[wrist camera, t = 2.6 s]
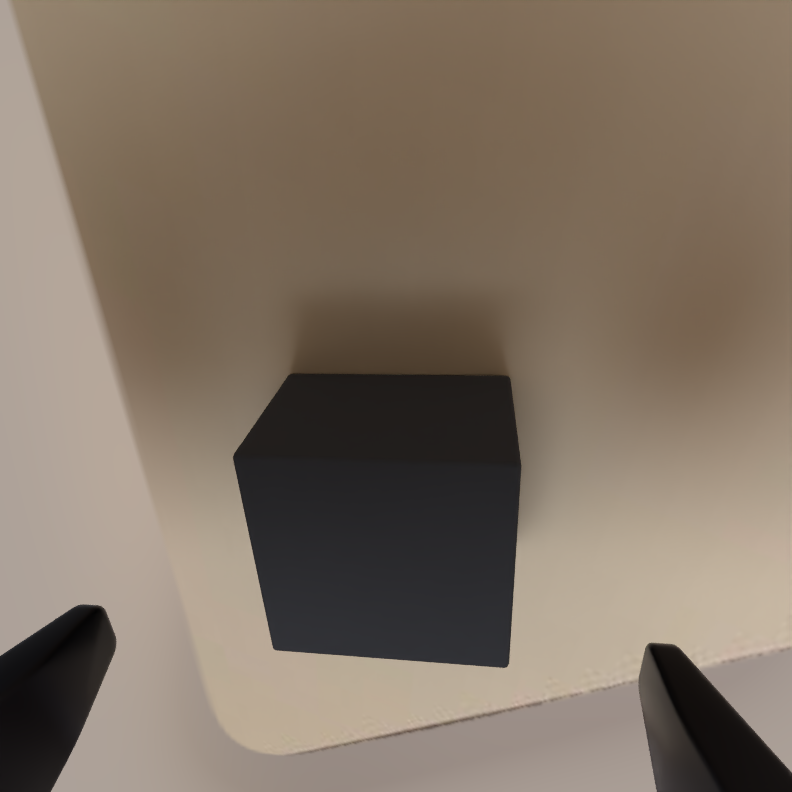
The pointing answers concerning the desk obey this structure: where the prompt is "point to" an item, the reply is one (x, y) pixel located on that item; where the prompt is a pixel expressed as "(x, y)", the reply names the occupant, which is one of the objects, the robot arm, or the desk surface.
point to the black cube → (386, 515)
